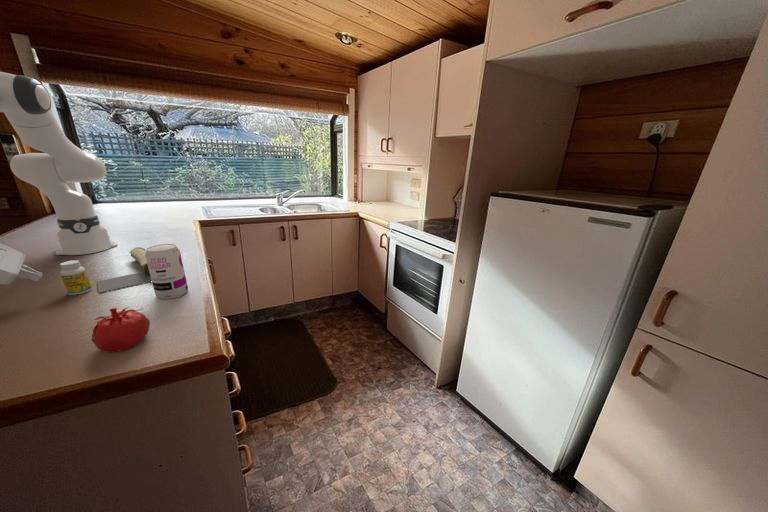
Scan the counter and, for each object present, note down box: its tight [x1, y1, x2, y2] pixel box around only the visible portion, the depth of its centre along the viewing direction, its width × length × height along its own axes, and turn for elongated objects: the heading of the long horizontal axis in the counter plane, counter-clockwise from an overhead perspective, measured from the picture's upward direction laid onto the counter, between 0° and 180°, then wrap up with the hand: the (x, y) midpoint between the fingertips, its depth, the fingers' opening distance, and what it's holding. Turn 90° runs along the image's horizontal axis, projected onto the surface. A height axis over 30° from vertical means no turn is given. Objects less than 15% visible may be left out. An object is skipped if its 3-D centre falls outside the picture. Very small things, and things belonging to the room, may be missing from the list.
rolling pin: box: [128, 247, 150, 276], centre depth 107 cm, size 32×6×5 cm, turn 46°
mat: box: [96, 271, 152, 294], centre depth 98 cm, size 11×18×1 cm, turn 135°
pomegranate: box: [91, 307, 151, 353], centre depth 66 cm, size 10×10×9 cm
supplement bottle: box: [59, 259, 93, 296], centre depth 88 cm, size 5×5×10 cm
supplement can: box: [145, 243, 189, 300], centre depth 87 cm, size 8×8×15 cm
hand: (40, 277), depth 83 cm, fingers closed
